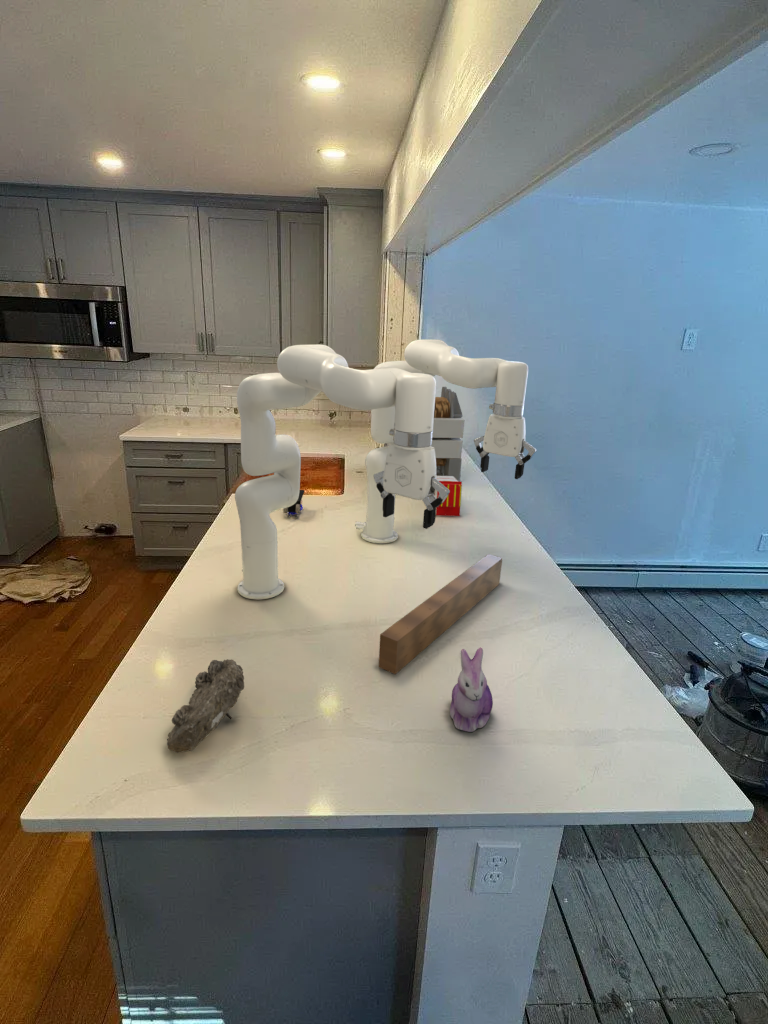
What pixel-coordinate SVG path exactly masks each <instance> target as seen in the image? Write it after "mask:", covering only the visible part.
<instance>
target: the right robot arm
mask: <svg viewBox="0 0 768 1024" xmlns="http://www.w3.org/2000/svg"><path fill="white" fill-rule="evenodd" d="M403 355H404V356H403V357H404V360H389V361H383V362H381V363H379V364H377V365H376V366H374V368H373V369H386V368H397V369H401V370H404V371H407V372H410V373H423V374H429V375H431V376H433V377H434V378H435V376H439V377H441V378H442V379H443V380H444V381H446V382H447V383H449V384H452V385H455V386H459V387H463V388H466V389H471V390H473V389H486V388H495V395H494V402H493V403H490V404H489V405H488V409H489V410H491V411H492V413H491V414H489V417H488V420H487V424H486V427H485V432H484V435H482V436H479V437H476V438H474V439H473V443H474V446H475V450H476V451H477V453H478V454H479V457H480V463H479V464H480V466H479V467H480V473H485V472H487V471H489V466H490V456H489V454H492V455H498V456H503V457H509V458H514V459H515V460H516V462H517V464H516V465H515V470H514V479H515V480H519V479H521V478H522V476H524V473H525V472H524V471H525V464H526V463H528V462H529V461H530V460H531V459H532V458H533V457H534V456H535V454H536V452H537V448H536V447H534V446H533V445H531V443H529V442H528V441H526V418H525V417H524V416H523V415H524V408H525V402H526V401H525V399H526V393H527V392H526V391H527V385H528V376H529V365H528V364H527V363H525V362H523V361H513V360H506V359H503V358H498V357H480V358H479V357H477V358H472V357H466V356H462V355H460V353H459V351H458V349H456V347H454V346H451V345H448V344H447V342H445V341H443V340H441V339H437V338H436V339H434V338H433V339H430V338H429V339H428V338H427V339H426V338H423V339H415V340H413V341H411V342H410V343H408V344H407V345H406V347H405V349H404V353H403ZM394 422H395V406H394V407H387V408H379V409H373V410H370V436H371V439H372V440H373V442H375V443H376V444H381V445H382V444H383V445H384V444H386V443H393V442H394V441H393V436H391V435H389V431H390V429H394ZM482 442H483V443H482ZM388 448H389V446H385V447H384V446H380V447H376V448H373V449H371V450H369V451H368V453H367V454H366V455H365V459H364V465H365V471H366V480H367V481H366V482H367V483H366V486H367V488H366V490H367V491H366V519H365V520H366V521H364V522H362V521H355V522H354V527H355V529H356V530H361V534H360V535H361V538H362V539H363V540H364V541H366V542H368V543H373V544H389V543H393V542H395V541H397V540H398V537H399V534H398V532H397V531H396V530H395V528H394V527H395V510H396V509H395V508H396V507H395V506H396V502H395V503H394V514H392V515H390V516H388V517H383V498H381V493H380V492H379V490H378V489H377V487H376V485H377V484H376V482H375V480H374V477H373V475H374V474H376V473H379V472H382V471H384V468H385V461H386V456H387V452H388ZM525 450H526V451H527V452H528V453H527V454H526V455H524V453H525ZM392 495H393V496H394V497H395V498H396V495H395V494H392Z"/></svg>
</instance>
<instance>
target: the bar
mask: <svg viewBox="0 0 768 1024" xmlns="http://www.w3.org/2000/svg"><path fill="white" fill-rule="evenodd" d="M502 565H503V557H500V556H497V555H493V554H490V553H488V554H486V555H485V556H484V557H482V558H481V559H479V560H478V561H477V562H476V563H474V564H473V565H471V566H470V567H469V568H467V569H466V570H464V571H463V572H462V573H461V574H459V575H458V576H457V577H455V578H454V579H453V580H451V581H450V582H449V583H446V585H445V586H443V587H442V588H440V589H439V590H437V591H436V592H435V593H434V594H432V595H431V596H429V597H428V598H426V599H425V600H424V601H423V602H422V603H420V604H419V605H418V606H416V607H414V609H412V610H411V611H409V612H408V613H407V614H405V615H404V616H403V617H401V618H400V619H398V620H397V621H396V622H395V623H393V624H392V625H390V626H389V627H388V628H386V629H385V630H384V631H382V632H381V633H380V634H379V651H378V655H379V656H378V668H379V669H382V670H384V671H387V672H389V673H391V674H394V675H397V674H398V673H399V672H400V671H401V670H402V669H404V668H405V667H406V666H407V665H408V664H410V663H411V662H412V661H413V660H414V659H415V658H416V657H418V656H419V655H420V654H421V653H422V652H423V651H424V650H425V649H426V648H428V647H429V646H430V645H431V644H432V643H434V642H435V641H436V640H437V639H438V638H439V637H441V636H442V635H443V634H444V633H445V632H447V630H448V629H450V627H452V626H454V624H455V623H456V622H458V620H460V619H461V618H462V617H464V615H465V614H467V613H468V612H469V611H470V610H472V609H473V607H475V606H476V605H477V604H479V602H481V601H482V599H484V598H485V597H486V596H487V595H488V594H490V593H491V592H492V591H493V590H494V589H495V588H497V587H498V586H499V585H500V582H501V573H502Z"/></svg>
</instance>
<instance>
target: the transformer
mask: <svg viewBox="0 0 768 1024" xmlns="http://www.w3.org/2000/svg"><path fill="white" fill-rule="evenodd" d="M440 393H441V394H440V396H435V409H434V423H433V436H432V447H434V449H435V456H436V469H437V470H438V469H439V473H440V474H441V475H442V476H453V477H454V478H455V479H456V480H458V481H459V482H461V472H462V461H463V460H462V453H463V442H464V441H463V440H462V439H463V438H464V431H465V430H464V429H465V419H464V418H463V411H462V408H461V405H460V402H459V398H458V395H457V392H455V391H453V390H452V389H451V388H447V386H442V387H441V392H440ZM389 445H390V443H386V444H383V447H385V446H389Z"/></svg>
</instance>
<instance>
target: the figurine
mask: <svg viewBox="0 0 768 1024" xmlns="http://www.w3.org/2000/svg"><path fill="white" fill-rule="evenodd" d="M459 655H460V666H461V667H460V668H461V671H460V673H459V675H458V678H457V682H456V684H455V685H454V686H453V688H452V690H451V703H450V707H449V715H450V716H449V717H450V718H451V719H452V721H453V724H454V727H455V728H456V729H457V730H461V731H464V732H470V733H471V732H472V733H473V732H475V731H476V730H477V729H481V728H482V729H483V728H484V727H485V726H486V724H487V723H488V721H489V719H490V716H491V714H492V713H491V712H492V710H493V705H494V704H493V703H494V702H493V701H494V700H493V695H492V691H491V688H490V686H489V685H488V680H487V677H486V675H485V673H484V670H483V665H482V664H483V659H484V648H483V647H478V648H477V649H476V651H475V654H474V655H473V657H472V658H471V657H470V655H469V653H468V651H467V650H466V649H465V648H461V649H460V653H459Z"/></svg>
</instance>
